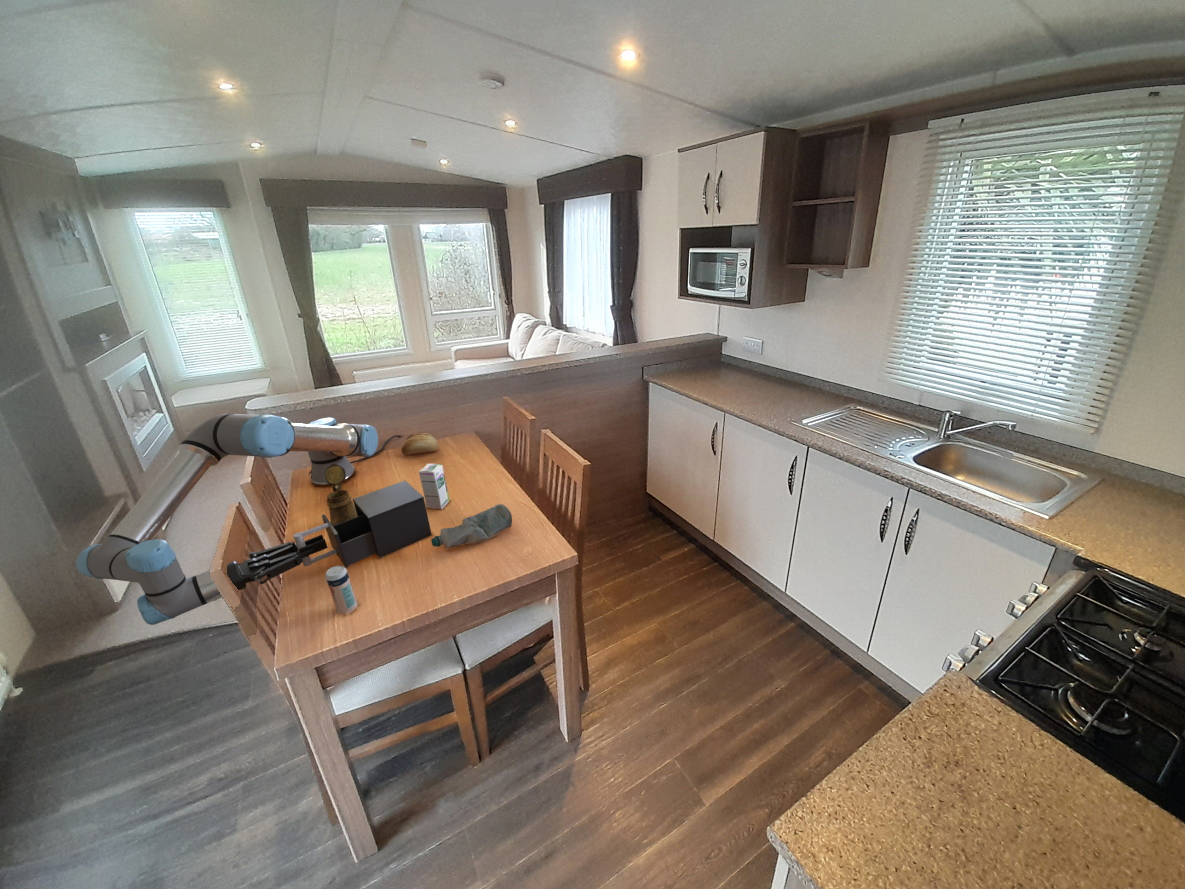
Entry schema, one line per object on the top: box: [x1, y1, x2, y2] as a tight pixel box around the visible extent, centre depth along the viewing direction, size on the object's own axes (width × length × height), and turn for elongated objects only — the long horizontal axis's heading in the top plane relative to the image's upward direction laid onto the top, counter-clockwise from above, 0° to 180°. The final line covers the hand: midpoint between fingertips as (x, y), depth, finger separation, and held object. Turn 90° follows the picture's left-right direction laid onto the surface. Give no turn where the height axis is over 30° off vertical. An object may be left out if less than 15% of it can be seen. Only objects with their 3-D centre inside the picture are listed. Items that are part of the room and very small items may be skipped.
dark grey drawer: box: [292, 513, 377, 569], centre depth 136 cm, size 24×13×12 cm, turn 132°
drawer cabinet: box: [352, 480, 433, 559], centre depth 144 cm, size 16×14×14 cm
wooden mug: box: [325, 463, 357, 526], centre depth 153 cm, size 9×14×18 cm, turn 23°
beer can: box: [324, 565, 358, 615], centre depth 117 cm, size 5×5×12 cm
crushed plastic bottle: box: [430, 503, 513, 550], centre depth 144 cm, size 13×7×25 cm
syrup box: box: [418, 463, 450, 510], centre depth 160 cm, size 6×6×14 cm
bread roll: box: [400, 432, 440, 456], centre depth 200 cm, size 10×15×8 cm, turn 112°
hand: (324, 541), depth 133 cm, fingers closed on dark grey drawer, 2 cm apart
